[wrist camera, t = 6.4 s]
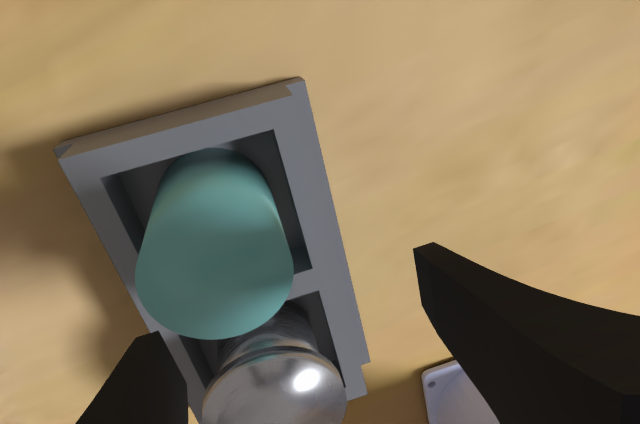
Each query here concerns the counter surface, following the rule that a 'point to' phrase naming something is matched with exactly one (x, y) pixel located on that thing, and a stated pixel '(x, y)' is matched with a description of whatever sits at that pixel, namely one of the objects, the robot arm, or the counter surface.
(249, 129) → the housing
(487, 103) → the counter surface
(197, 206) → the teal cylinder
